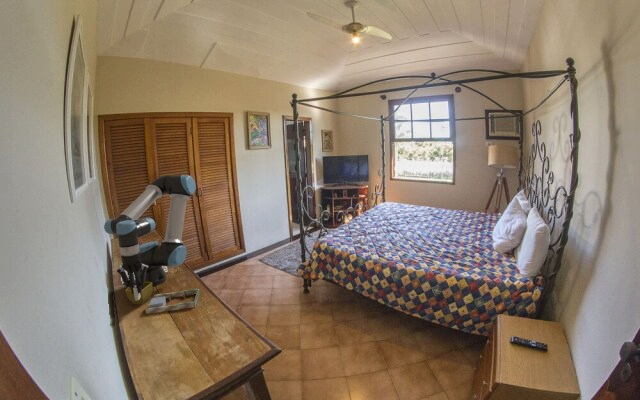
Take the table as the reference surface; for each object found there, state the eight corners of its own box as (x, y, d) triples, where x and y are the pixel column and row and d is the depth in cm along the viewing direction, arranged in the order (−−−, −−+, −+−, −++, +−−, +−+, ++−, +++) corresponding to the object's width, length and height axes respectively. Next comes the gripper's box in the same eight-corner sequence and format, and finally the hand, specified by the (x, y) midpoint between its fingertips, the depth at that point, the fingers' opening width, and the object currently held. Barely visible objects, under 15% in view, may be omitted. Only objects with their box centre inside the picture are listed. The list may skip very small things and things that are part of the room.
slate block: (150, 312, 139) (148, 305, 138) (153, 305, 144) (151, 298, 143) (163, 309, 140) (162, 302, 139) (166, 303, 146) (165, 296, 145)
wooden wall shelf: (146, 313, 137) (145, 308, 136) (155, 299, 149) (154, 294, 149) (195, 307, 142) (194, 302, 141) (199, 293, 154) (199, 288, 153)
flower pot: (155, 297, 151) (152, 281, 149) (143, 306, 143) (141, 290, 141) (139, 296, 152) (137, 281, 150) (127, 306, 144) (124, 290, 142)
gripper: (111, 258, 129) (119, 305, 134) (142, 255, 132) (150, 301, 136) (118, 251, 136) (126, 296, 141) (148, 249, 139) (155, 293, 144)
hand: (137, 298), depth 139 cm, fingers closed
